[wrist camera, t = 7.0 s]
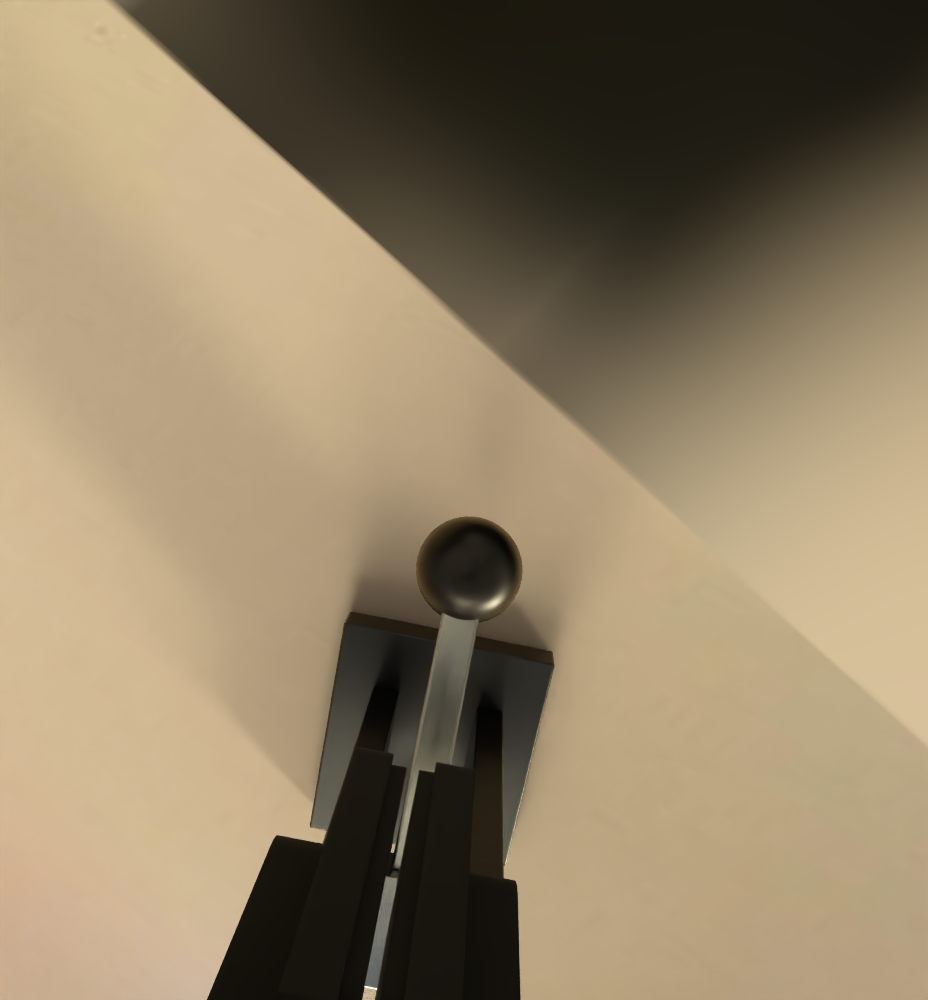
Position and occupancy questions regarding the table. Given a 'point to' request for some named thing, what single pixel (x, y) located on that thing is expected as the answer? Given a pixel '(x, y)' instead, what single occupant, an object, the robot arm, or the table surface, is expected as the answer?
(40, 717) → the table surface
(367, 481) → the table surface
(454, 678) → the tap lever
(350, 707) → the lever base
